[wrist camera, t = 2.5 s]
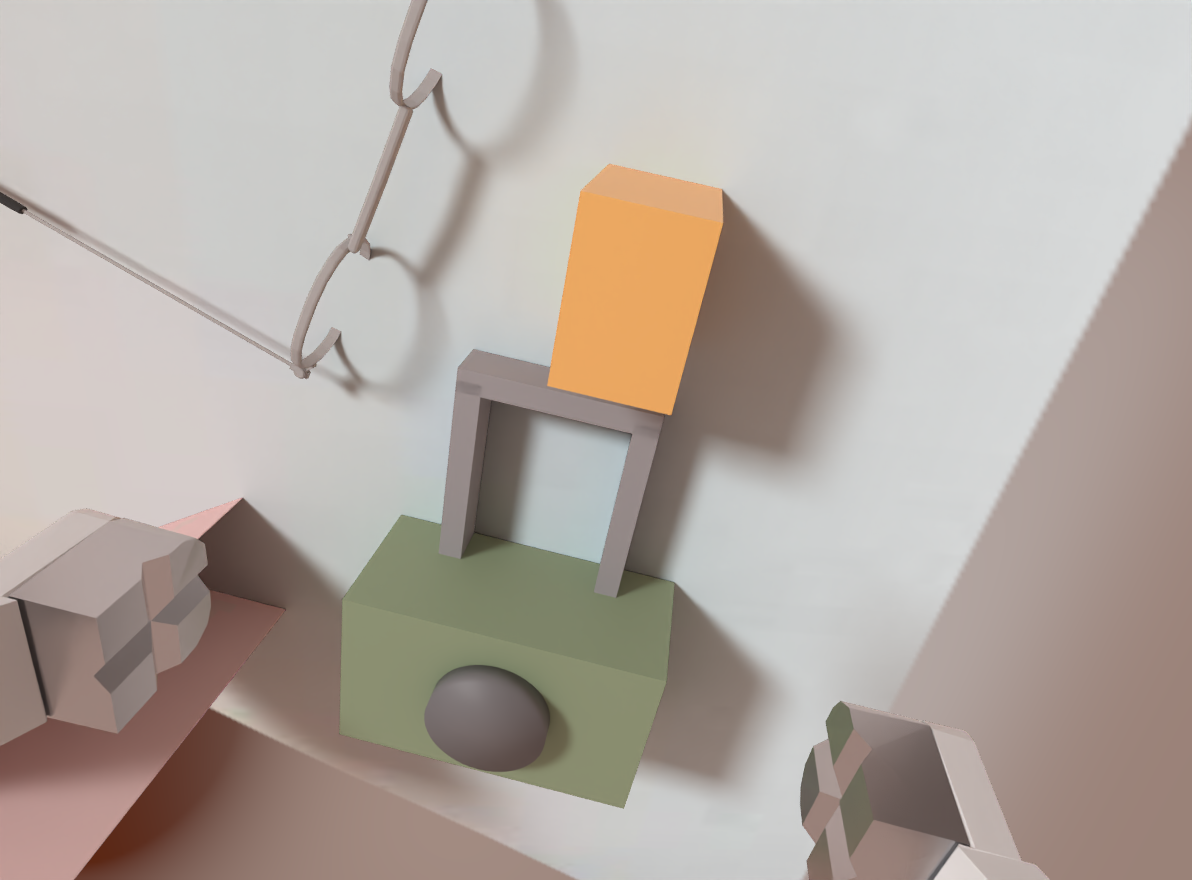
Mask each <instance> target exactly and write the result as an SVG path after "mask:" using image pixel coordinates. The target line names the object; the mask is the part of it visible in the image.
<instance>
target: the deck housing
mask: <svg viewBox="0 0 1192 880" xmlns="http://www.w3.org/2000/svg"><path fill="white" fill-rule="evenodd" d="M549 372H550V367H546V366H542V365H538V364H533V363H529V362H525V361H521V360H517V359H512V358H508V357H504V356H500V355H496V354H491V353H487V352H483V351H479V350H474V349H473V350H472V352H471V353H470V354H469V355H468V356H467V358H466V359H465V360H464V361H463V362H462V363H461V365H460V366H459V367H458V371H457V381H456V390H455V400H454V409H453V419H452V429H451V438H450V448H449V458H448V467H447V477H446V487H445V496H444V506H443V515H442V525H441V524H437V523H433V522H428V521H424V520H420V519H416V518H412V517H408V516H404V515H401V516H400V517H399V519H398V520H397V522H396V523H395V525H394V526H393V527H392V529H391V530H390V532H389V533H388V535H387V536H386V537H385V539H384V540H383V542H382V543H381V545H380V546H379V547H378V549H377V550H376V552H375V553H374V555H373V556H372V558H371V559H370V560H369V562H368V563H367V565H366V566H365V568H364V569H363V570H362V572H361V573H360V575H359V576H358V578H357V579H356V581H355V582H354V583H353V585H352V586H351V588H350V589H349V591H348V592H347V593H346V595H345V596H344V598H343V599H342V637H341V682H340V728H339V734H340V735H344V736H348V737H352V738H356V739H360V740H363V741H367V742H371V743H375V744H379V745H382V746H386V747H390V748H394V749H398V750H402V751H405V752H409V753H413V754H417V755H421V756H425V757H428V758H432V759H436V760H440V761H444V762H447V763H451V764H455V765H459V766H463V767H467V768H470V769H474V770H478V771H482V772H486V773H489V774H493V775H497V776H501V777H505V778H509V779H512V780H516V781H520V782H524V783H528V784H531V785H535V786H539V787H543V788H547V789H551V790H554V791H558V792H562V793H566V794H570V795H574V796H577V797H581V798H585V799H589V800H593V801H596V802H600V803H604V804H608V805H612V806H616V807H619V808H623V809H624V807H625V804H626V801H627V798H628V795H629V792H630V789H631V786H632V783H633V780H634V777H635V774H636V771H637V768H638V765H639V762H640V759H641V756H642V753H643V750H644V747H645V744H646V741H647V738H648V736H649V733H650V730H651V727H652V724H653V721H654V718H655V715H656V712H657V709H658V706H659V703H660V700H661V697H662V694H663V691H664V688H665V685H666V682H667V671H668V659H669V646H670V634H671V621H672V609H673V596H674V584H675V583H674V582H670V581H666V580H662V579H658V578H654V577H650V576H646V575H642V574H638V573H634V572H630V571H626V570H624V566H625V562H626V559H627V555H628V551H629V547H630V544H631V540H632V536H633V532H634V529H635V525H636V521H637V517H638V514H639V510H640V506H641V502H642V499H643V495H644V491H645V487H646V484H647V480H648V476H649V472H650V469H651V465H652V461H653V457H654V454H655V450H656V446H657V442H658V439H659V435H660V431H661V427H662V424H663V420H664V415H665V414H663V413H659V412H655V411H650V410H646V409H642V408H638V407H634V406H630V405H625V404H621V403H617V402H613V401H609V400H604V399H600V398H596V397H592V396H588V395H583V394H579V393H575V392H571V391H567V390H562V389H558V388H554V387H550V386H547V384H548V378H549ZM492 400H494V401H498V402H502V403H506V404H510V405H514V406H519V407H523V408H527V409H531V410H535V411H539V412H544V413H548V414H552V415H556V416H560V417H564V418H569V419H573V420H577V421H581V422H585V423H589V424H594V425H598V426H602V427H606V428H610V429H614V430H619V431H623V432H627V433H631V434H632V436H631V440H630V445H629V449H628V453H627V457H626V461H625V465H624V469H623V473H622V477H621V481H620V485H619V489H618V493H617V498H616V502H615V506H614V510H613V514H612V518H611V522H610V526H609V530H608V534H607V538H606V542H605V546H604V551H603V555H602V559H601V563H600V564H598V563H594V562H590V561H586V560H582V559H578V558H574V557H570V556H566V555H561V554H557V553H553V552H549V551H545V550H541V549H537V548H533V547H529V546H525V545H521V544H517V543H513V542H509V541H505V540H501V539H497V538H493V537H489V536H485V535H481V534H477V533H474V529H475V522H476V514H477V507H478V499H479V491H480V484H481V476H482V469H483V461H484V454H485V446H486V438H487V431H488V423H489V416H490V408H491V401H492Z"/></svg>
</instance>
